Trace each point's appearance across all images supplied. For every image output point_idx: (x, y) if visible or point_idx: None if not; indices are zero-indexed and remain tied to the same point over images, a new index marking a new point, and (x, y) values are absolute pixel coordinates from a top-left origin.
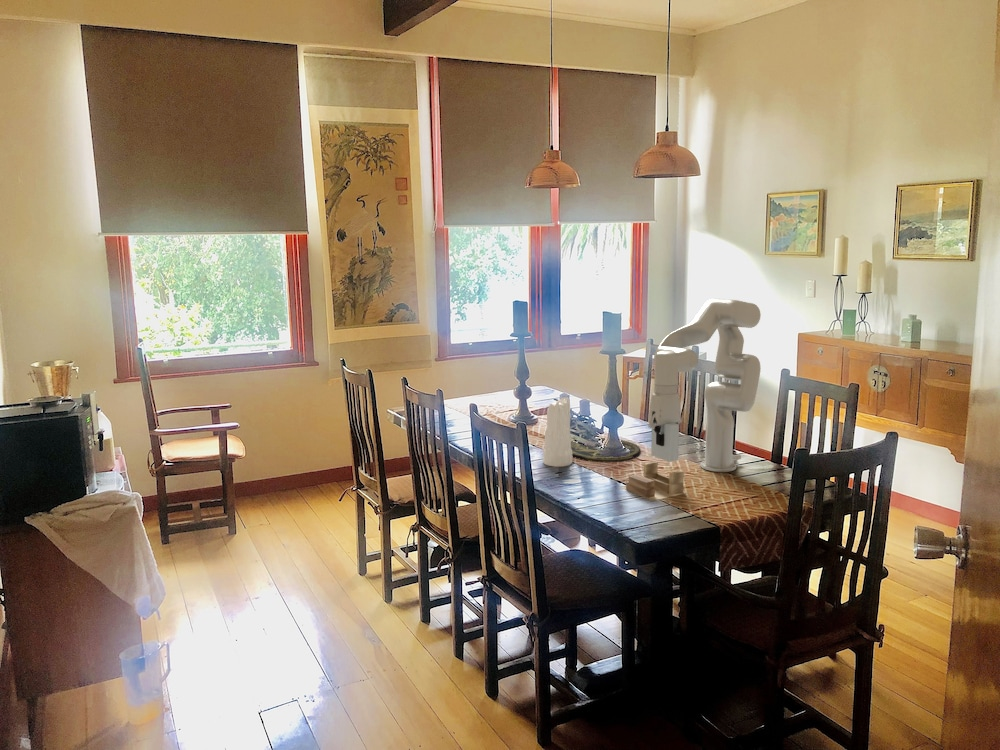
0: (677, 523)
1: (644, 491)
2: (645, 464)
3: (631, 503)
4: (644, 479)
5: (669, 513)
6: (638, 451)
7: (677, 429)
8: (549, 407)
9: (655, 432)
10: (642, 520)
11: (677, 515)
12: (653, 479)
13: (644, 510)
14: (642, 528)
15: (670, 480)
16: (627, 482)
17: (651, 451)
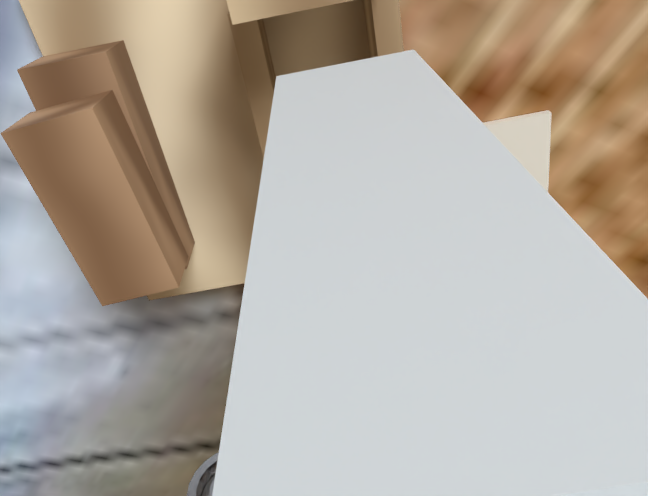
0: (167, 479)
1: None
2: (228, 7)
3: (36, 238)
4: (113, 244)
5: (186, 398)
6: None
7: None
8: None
9: (207, 481)
10: (27, 428)
11: (210, 422)
12: (258, 121)
13: (78, 341)
14: (2, 485)
15: None
16: (28, 78)
17: (274, 91)
